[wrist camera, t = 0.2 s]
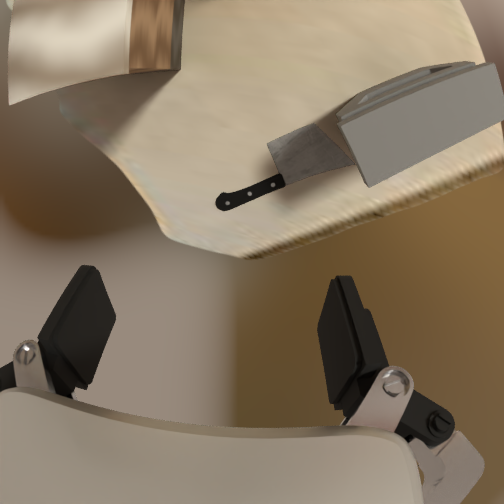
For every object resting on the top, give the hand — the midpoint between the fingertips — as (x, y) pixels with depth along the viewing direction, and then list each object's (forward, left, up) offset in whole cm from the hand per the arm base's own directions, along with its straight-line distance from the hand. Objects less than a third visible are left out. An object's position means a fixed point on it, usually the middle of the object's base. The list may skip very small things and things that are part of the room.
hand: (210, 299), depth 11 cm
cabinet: (-18, -15, -31) cm, 39 cm away
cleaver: (+2, +8, -32) cm, 33 cm away
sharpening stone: (-8, +23, -31) cm, 39 cm away
